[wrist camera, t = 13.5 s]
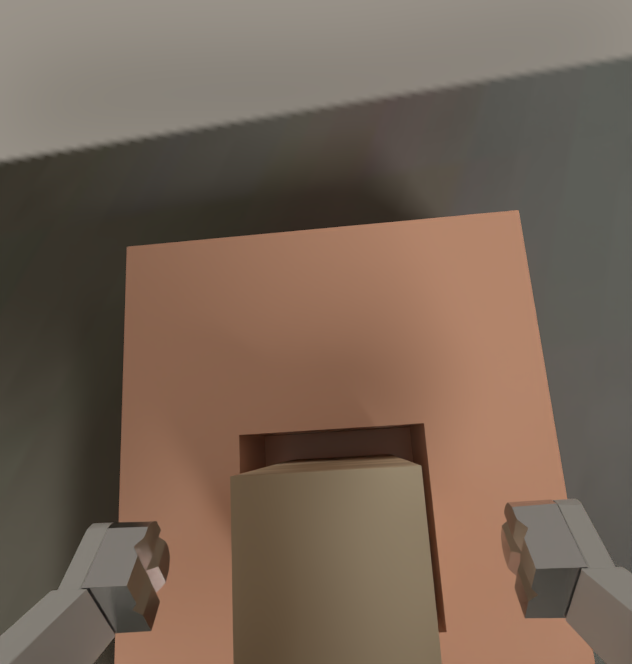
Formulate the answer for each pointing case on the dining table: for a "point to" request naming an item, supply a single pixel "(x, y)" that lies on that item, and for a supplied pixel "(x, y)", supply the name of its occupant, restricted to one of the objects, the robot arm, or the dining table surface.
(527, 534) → the robot arm
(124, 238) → the dining table surface
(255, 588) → the peg
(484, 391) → the socket
